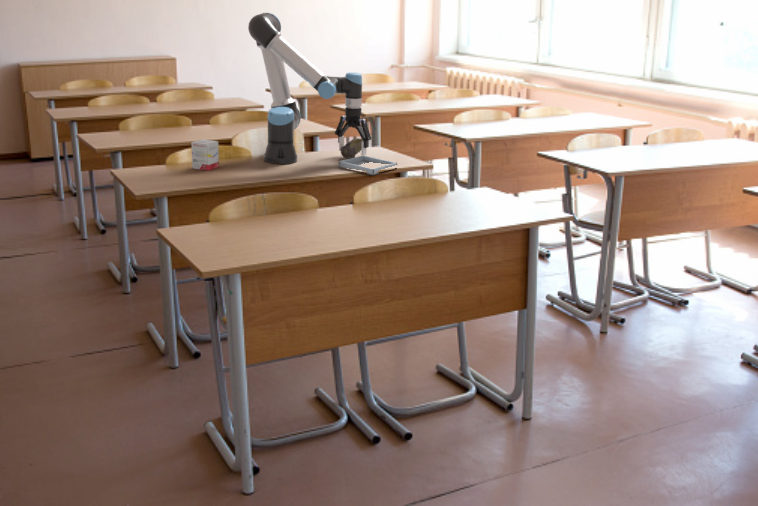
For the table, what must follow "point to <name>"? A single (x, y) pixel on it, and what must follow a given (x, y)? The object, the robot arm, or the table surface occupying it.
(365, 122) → the robot arm
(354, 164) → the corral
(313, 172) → the table surface
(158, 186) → the table surface
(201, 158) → the ink box
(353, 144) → the rock
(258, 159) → the table surface
